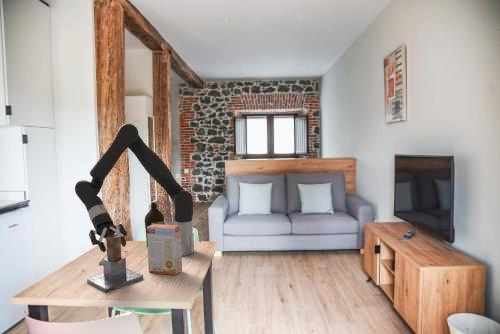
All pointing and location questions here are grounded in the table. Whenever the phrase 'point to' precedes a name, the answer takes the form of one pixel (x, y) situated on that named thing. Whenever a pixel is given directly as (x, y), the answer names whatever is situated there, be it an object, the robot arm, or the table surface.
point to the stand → (114, 276)
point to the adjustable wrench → (102, 259)
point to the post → (113, 247)
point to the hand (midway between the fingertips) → (115, 248)
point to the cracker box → (164, 249)
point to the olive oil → (153, 217)
